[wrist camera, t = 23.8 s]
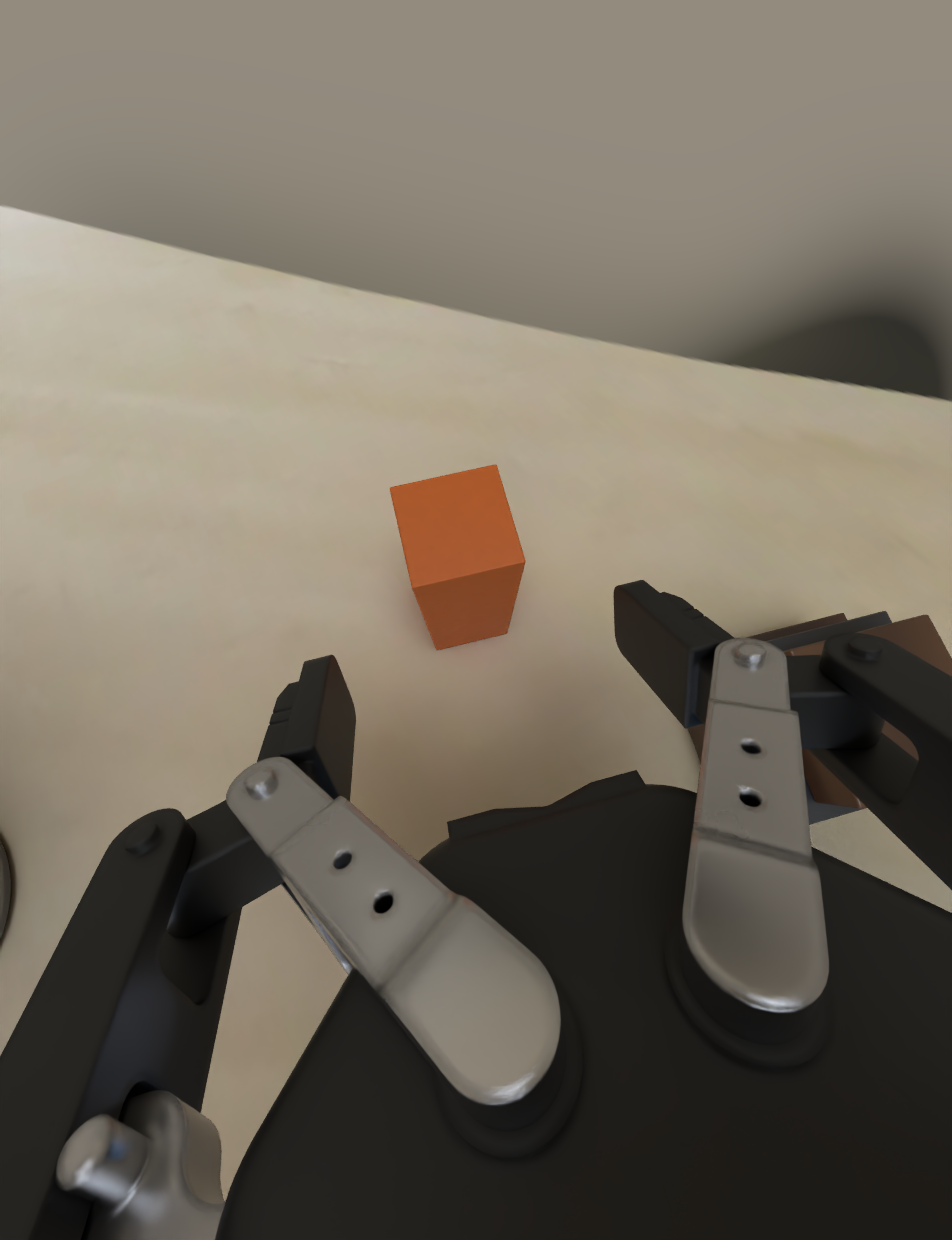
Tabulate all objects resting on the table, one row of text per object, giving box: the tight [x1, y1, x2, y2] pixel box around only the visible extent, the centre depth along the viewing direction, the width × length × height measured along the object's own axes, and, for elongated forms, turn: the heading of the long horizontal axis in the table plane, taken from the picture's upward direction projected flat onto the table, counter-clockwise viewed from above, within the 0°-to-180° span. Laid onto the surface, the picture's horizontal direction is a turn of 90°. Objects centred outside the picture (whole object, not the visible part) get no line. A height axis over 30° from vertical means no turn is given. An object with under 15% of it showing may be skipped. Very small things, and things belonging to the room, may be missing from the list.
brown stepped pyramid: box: [689, 611, 952, 825], centre depth 18 cm, size 8×8×7 cm
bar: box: [390, 465, 525, 650], centre depth 19 cm, size 4×4×9 cm
